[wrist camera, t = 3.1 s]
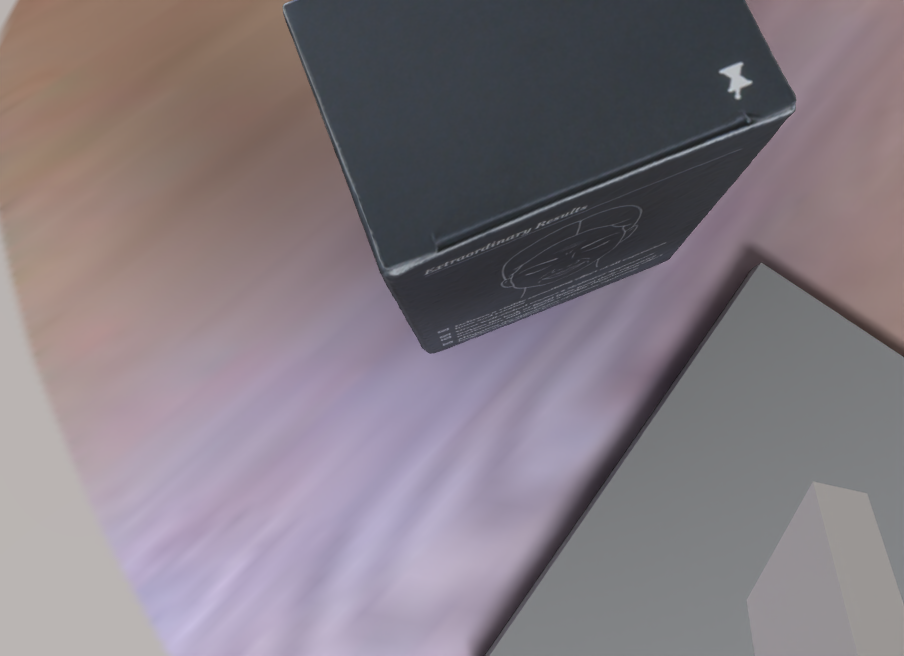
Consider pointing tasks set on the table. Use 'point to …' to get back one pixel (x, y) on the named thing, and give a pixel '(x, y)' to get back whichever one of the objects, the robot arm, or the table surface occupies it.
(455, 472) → the table surface
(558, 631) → the mat
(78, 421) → the table surface
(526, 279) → the box
